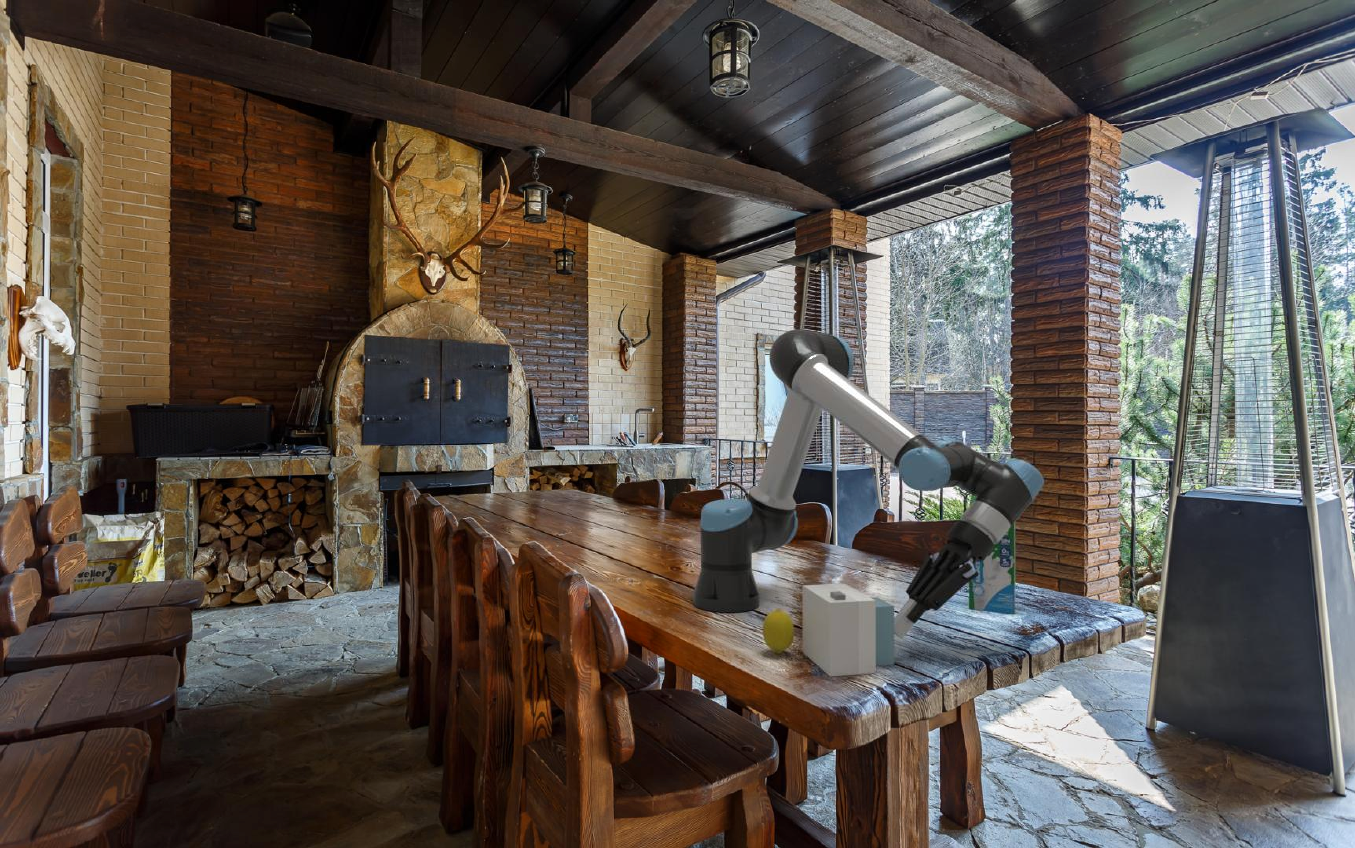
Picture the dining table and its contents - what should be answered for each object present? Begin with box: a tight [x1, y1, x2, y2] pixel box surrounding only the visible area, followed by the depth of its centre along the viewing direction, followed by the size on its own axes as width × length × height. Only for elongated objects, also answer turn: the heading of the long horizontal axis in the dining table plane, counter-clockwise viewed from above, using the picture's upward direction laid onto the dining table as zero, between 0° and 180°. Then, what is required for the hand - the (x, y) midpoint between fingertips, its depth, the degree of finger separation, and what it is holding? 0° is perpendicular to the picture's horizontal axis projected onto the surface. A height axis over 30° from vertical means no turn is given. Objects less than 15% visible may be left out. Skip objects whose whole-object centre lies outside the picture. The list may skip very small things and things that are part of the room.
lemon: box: [762, 608, 795, 655], centre depth 120 cm, size 6×6×8 cm
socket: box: [802, 583, 877, 678], centre depth 116 cm, size 12×8×13 cm, turn 11°
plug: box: [869, 596, 895, 667], centre depth 117 cm, size 6×8×10 cm
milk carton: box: [968, 495, 1016, 615], centre depth 151 cm, size 9×9×25 cm
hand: (894, 632), depth 118 cm, fingers closed
